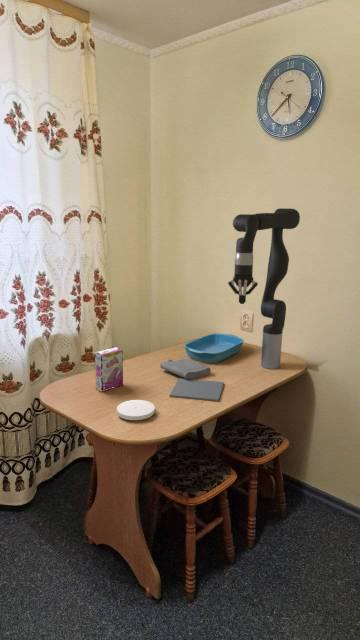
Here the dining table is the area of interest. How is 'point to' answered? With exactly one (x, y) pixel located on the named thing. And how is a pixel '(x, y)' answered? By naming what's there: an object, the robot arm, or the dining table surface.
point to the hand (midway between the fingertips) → (242, 303)
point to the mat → (197, 389)
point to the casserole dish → (213, 347)
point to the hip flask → (185, 368)
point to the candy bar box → (109, 368)
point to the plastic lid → (135, 409)
